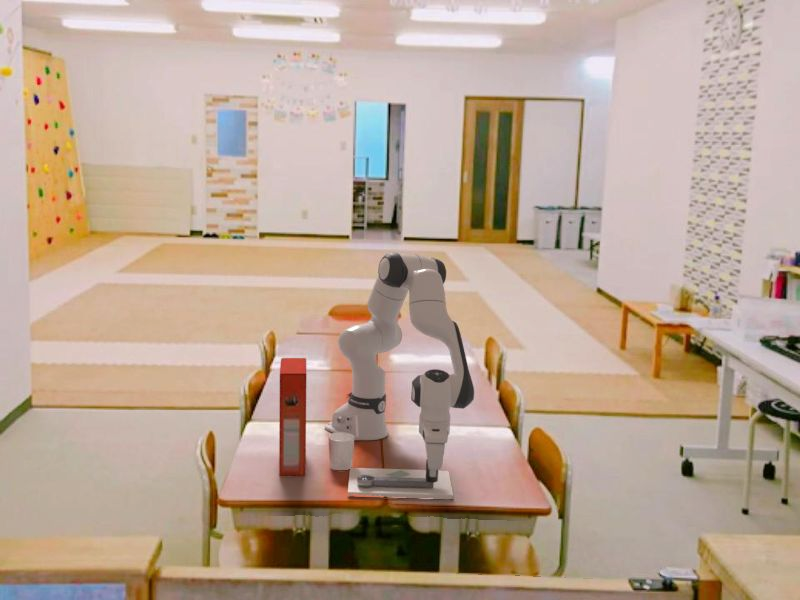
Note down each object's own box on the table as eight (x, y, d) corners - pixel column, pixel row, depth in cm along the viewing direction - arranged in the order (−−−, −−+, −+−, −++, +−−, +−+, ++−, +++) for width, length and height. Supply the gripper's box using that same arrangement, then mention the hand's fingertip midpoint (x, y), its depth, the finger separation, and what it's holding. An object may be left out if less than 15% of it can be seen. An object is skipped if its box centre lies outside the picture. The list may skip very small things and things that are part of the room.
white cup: (334, 473, 263) (334, 442, 261) (324, 464, 270) (324, 434, 268) (357, 470, 266) (358, 439, 264) (347, 461, 273) (348, 430, 271)
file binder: (278, 476, 259) (279, 373, 253) (279, 455, 276) (281, 357, 270) (305, 476, 260) (307, 373, 254) (305, 455, 277) (307, 358, 271)
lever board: (347, 497, 247) (347, 491, 246) (349, 472, 264) (350, 467, 264) (452, 500, 248) (453, 494, 247) (448, 475, 265) (448, 470, 265)
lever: (356, 487, 249) (357, 461, 247) (357, 480, 254) (358, 454, 252) (438, 489, 249) (439, 463, 248) (437, 482, 254) (438, 457, 253)
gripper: (421, 414, 259) (419, 458, 261) (425, 439, 238) (422, 486, 241) (442, 415, 259) (440, 459, 261) (448, 439, 239) (445, 487, 241)
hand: (432, 472), depth 251 cm, fingers open, 4 cm apart
